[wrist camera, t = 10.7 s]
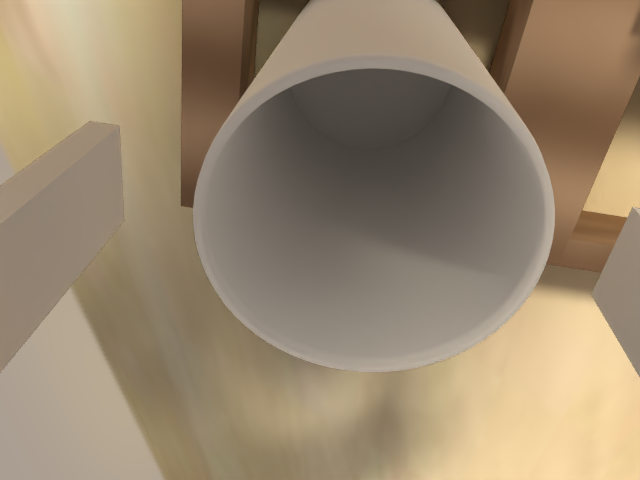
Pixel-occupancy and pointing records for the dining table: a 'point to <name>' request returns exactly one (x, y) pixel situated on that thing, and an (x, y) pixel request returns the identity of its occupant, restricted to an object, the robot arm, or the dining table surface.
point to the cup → (373, 193)
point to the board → (507, 71)
